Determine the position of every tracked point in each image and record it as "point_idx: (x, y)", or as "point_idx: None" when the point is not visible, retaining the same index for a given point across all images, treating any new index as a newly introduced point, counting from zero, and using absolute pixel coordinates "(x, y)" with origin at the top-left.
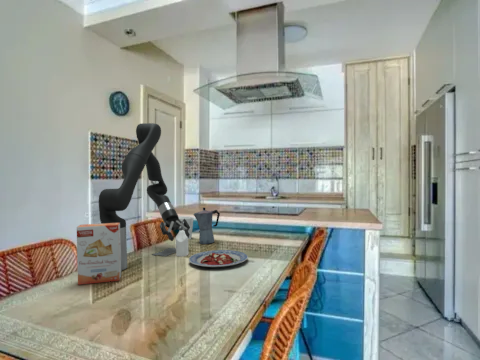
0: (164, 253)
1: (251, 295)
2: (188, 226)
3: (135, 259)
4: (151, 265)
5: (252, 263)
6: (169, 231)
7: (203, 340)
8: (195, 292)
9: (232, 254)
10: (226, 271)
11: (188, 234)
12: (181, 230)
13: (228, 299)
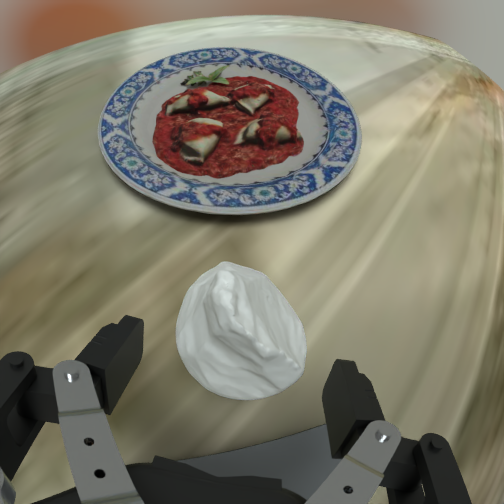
0: (295, 482)
1: (357, 29)
2: (9, 371)
3: None
4: (462, 318)
5: None
6: (386, 424)
7: (452, 53)
8: (426, 82)
9: (136, 108)
10: None
11: (125, 321)
12: (236, 321)
13: (393, 45)
